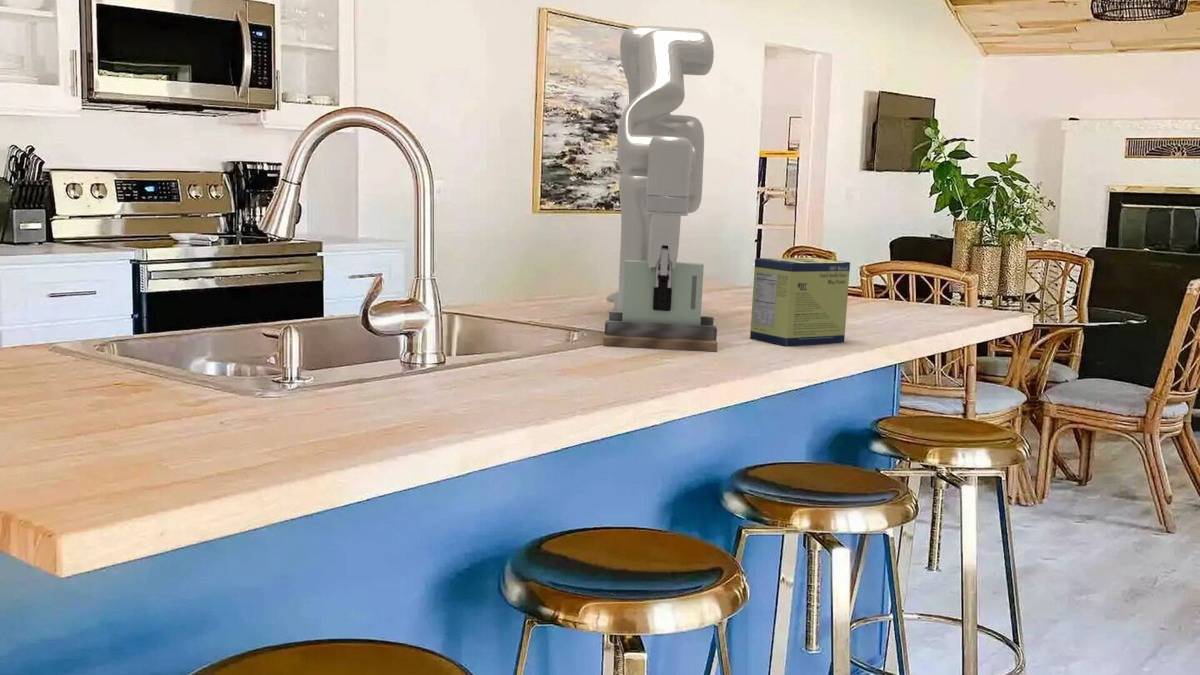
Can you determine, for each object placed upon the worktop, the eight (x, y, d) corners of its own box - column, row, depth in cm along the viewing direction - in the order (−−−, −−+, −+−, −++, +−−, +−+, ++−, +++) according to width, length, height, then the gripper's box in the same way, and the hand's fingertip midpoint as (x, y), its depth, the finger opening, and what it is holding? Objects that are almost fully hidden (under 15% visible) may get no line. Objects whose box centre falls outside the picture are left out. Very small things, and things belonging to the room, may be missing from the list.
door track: (603, 345, 207) (604, 317, 207) (606, 336, 219) (607, 309, 219) (716, 351, 207) (718, 323, 206) (713, 341, 218) (715, 314, 218)
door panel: (621, 327, 211) (624, 261, 210) (622, 325, 214) (625, 259, 213) (700, 331, 211) (703, 264, 209) (699, 329, 214) (703, 263, 212)
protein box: (845, 342, 225) (851, 261, 223) (786, 347, 216) (791, 262, 214) (807, 335, 234) (812, 256, 231) (748, 338, 225) (753, 257, 222)
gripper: (646, 204, 218) (641, 303, 220) (645, 207, 201) (640, 313, 204) (687, 206, 217) (681, 305, 220) (689, 209, 201) (683, 315, 204)
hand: (661, 308), depth 212 cm, fingers closed on door panel, 3 cm apart
